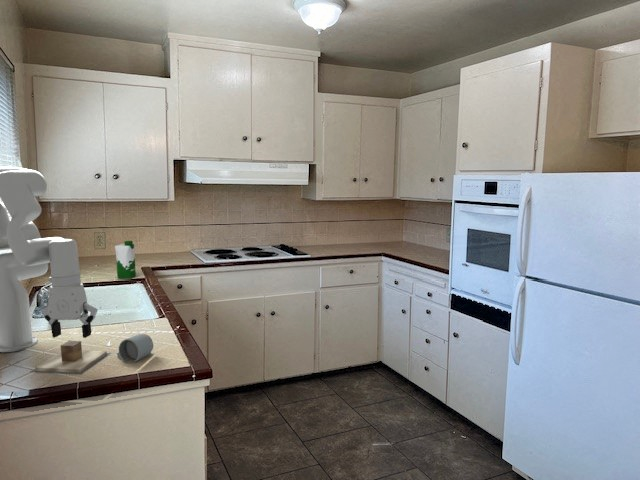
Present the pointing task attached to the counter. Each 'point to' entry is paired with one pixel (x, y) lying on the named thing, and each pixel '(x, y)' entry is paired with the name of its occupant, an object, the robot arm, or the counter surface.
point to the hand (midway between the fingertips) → (72, 336)
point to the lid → (71, 359)
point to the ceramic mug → (135, 347)
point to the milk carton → (125, 260)
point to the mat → (72, 372)
